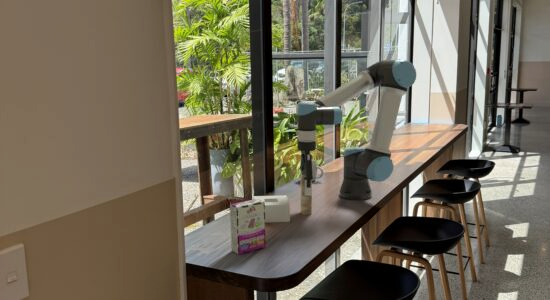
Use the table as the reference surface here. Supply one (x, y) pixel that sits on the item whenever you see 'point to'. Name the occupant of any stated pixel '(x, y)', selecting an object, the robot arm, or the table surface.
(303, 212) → the peg
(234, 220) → the candy bar box
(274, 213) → the socket
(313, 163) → the mug
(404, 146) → the table surface
